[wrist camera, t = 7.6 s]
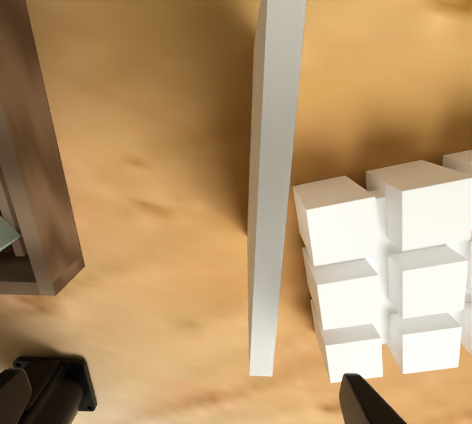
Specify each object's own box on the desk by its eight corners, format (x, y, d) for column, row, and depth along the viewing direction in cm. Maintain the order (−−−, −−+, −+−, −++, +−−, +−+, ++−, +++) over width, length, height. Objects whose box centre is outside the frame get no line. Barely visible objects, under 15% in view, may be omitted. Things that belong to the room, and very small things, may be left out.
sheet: (258, 236, 20) (271, 376, 10) (247, 235, 20) (249, 375, 10) (268, 46, 15) (313, -69, 5) (253, 46, 15) (270, -69, 5)
